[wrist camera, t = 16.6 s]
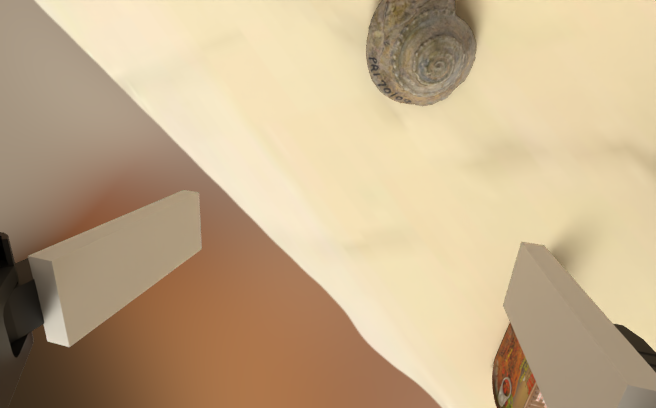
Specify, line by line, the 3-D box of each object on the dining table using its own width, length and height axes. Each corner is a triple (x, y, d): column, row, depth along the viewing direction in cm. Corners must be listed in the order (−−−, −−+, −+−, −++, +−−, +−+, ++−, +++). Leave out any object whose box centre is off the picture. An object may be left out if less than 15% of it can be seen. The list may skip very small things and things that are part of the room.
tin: (527, 280, 40) (555, 326, 32) (556, 287, 39) (592, 335, 31) (485, 377, 45) (501, 437, 37) (510, 385, 44) (532, 447, 37)
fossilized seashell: (355, 97, 36) (364, 72, 29) (370, 0, 36) (382, -49, 29) (454, 113, 36) (485, 91, 29) (469, 16, 37) (503, -29, 30)
